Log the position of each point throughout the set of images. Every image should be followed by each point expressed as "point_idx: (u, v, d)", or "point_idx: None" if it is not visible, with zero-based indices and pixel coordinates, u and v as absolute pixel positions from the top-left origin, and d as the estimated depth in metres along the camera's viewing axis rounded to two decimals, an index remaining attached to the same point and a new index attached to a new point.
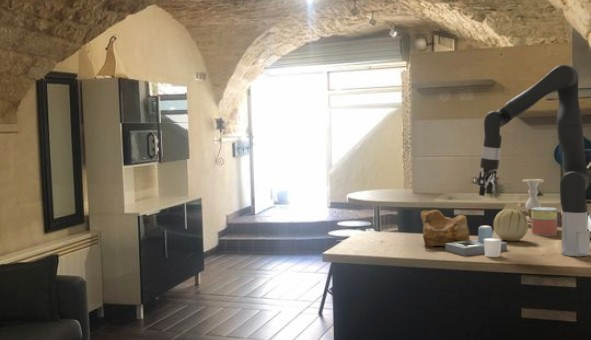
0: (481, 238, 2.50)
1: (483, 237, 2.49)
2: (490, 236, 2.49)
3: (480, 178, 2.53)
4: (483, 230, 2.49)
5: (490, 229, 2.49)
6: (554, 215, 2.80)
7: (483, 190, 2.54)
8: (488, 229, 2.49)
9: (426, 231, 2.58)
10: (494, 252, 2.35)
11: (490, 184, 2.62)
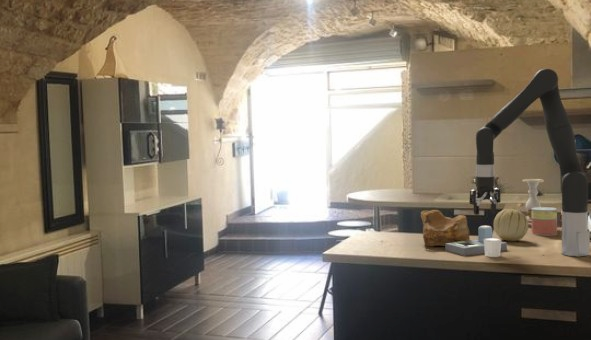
0: (481, 238, 2.50)
1: (483, 237, 2.49)
2: (490, 236, 2.49)
3: (470, 196, 2.47)
4: (483, 230, 2.49)
5: (490, 229, 2.49)
6: (554, 215, 2.80)
7: (476, 209, 2.47)
8: (488, 229, 2.49)
9: (426, 231, 2.58)
10: (494, 252, 2.35)
11: (492, 203, 2.51)
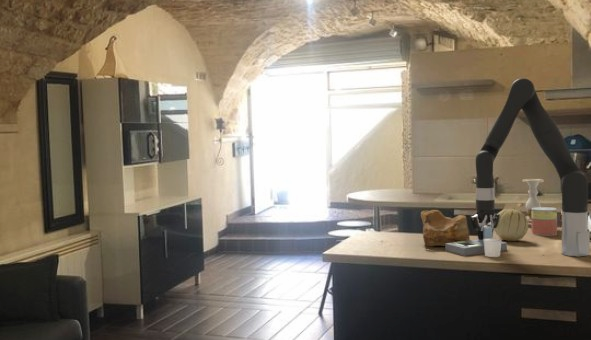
0: None
1: (483, 237, 2.49)
2: (490, 236, 2.49)
3: (473, 223, 2.49)
4: (483, 230, 2.49)
5: (490, 229, 2.49)
6: (554, 215, 2.80)
7: (480, 234, 2.49)
8: (488, 229, 2.49)
9: (426, 231, 2.58)
10: (494, 252, 2.35)
11: None
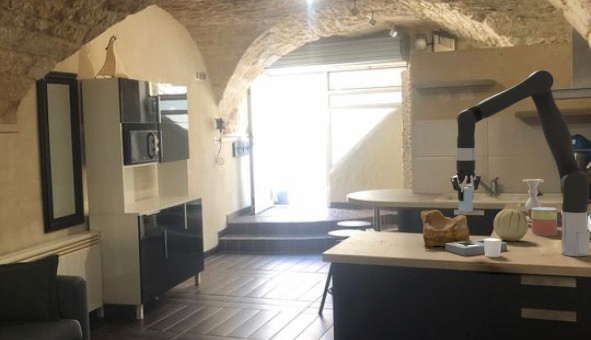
0: None
1: (463, 198, 2.44)
2: (470, 197, 2.45)
3: (453, 183, 2.44)
4: (463, 191, 2.44)
5: (470, 190, 2.44)
6: (554, 215, 2.80)
7: (460, 195, 2.44)
8: (468, 190, 2.44)
9: (426, 231, 2.58)
10: (494, 252, 2.35)
11: None
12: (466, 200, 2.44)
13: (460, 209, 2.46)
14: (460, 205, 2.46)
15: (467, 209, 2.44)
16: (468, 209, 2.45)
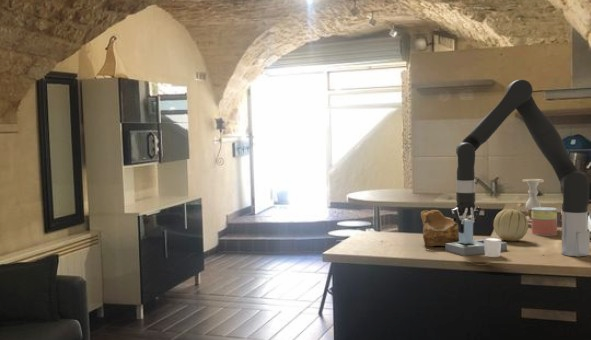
0: None
1: None
2: (470, 229, 2.45)
3: (453, 216, 2.44)
4: (463, 223, 2.45)
5: (470, 222, 2.45)
6: (554, 215, 2.80)
7: (461, 227, 2.45)
8: (468, 222, 2.45)
9: (426, 231, 2.58)
10: (494, 252, 2.35)
11: None
12: (466, 232, 2.44)
13: (460, 241, 2.47)
14: (460, 237, 2.47)
15: (467, 241, 2.45)
16: (468, 241, 2.45)
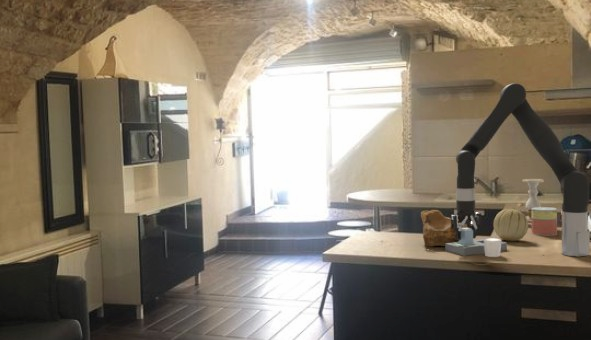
0: (462, 241, 2.46)
1: (464, 239, 2.45)
2: (471, 238, 2.45)
3: (451, 222, 2.44)
4: (464, 232, 2.45)
5: (471, 231, 2.45)
6: (554, 215, 2.80)
7: (458, 234, 2.44)
8: (469, 231, 2.45)
9: (426, 231, 2.58)
10: (494, 252, 2.35)
11: (473, 228, 2.48)
12: (467, 241, 2.45)
13: None
14: None
15: None
16: None
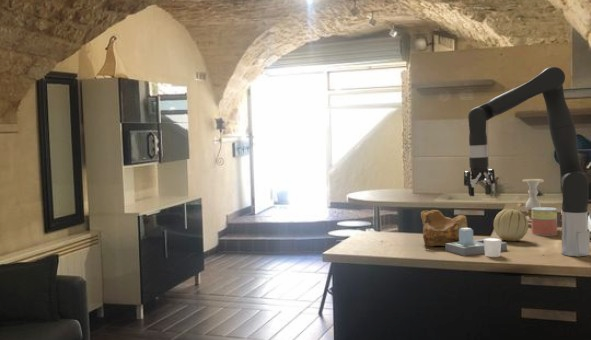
0: (462, 241, 2.46)
1: (464, 239, 2.45)
2: (471, 238, 2.45)
3: (465, 178, 2.44)
4: (464, 232, 2.45)
5: (471, 231, 2.45)
6: (554, 215, 2.80)
7: (471, 190, 2.44)
8: (469, 231, 2.45)
9: (426, 231, 2.58)
10: (494, 252, 2.35)
11: (487, 184, 2.48)
12: (467, 241, 2.45)
13: None
14: None
15: None
16: None
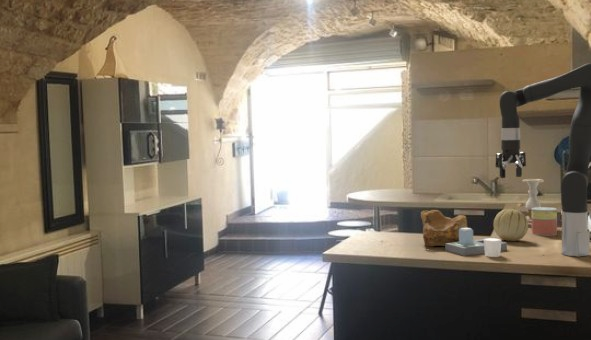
0: (462, 241, 2.46)
1: (464, 239, 2.45)
2: (471, 238, 2.45)
3: (496, 160, 2.49)
4: (464, 232, 2.45)
5: (471, 231, 2.45)
6: (554, 215, 2.80)
7: (502, 172, 2.49)
8: (469, 231, 2.45)
9: (426, 231, 2.58)
10: (494, 252, 2.35)
11: (518, 167, 2.53)
12: (467, 241, 2.45)
13: None
14: None
15: None
16: None
